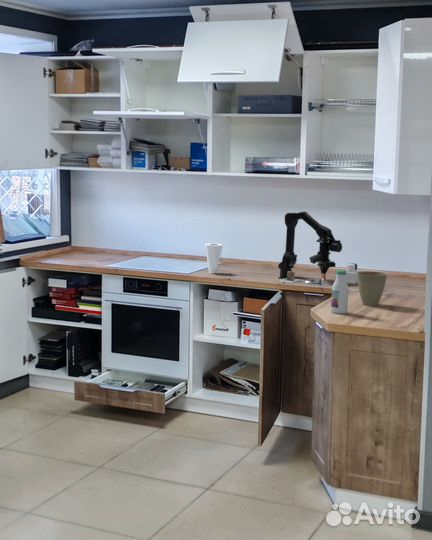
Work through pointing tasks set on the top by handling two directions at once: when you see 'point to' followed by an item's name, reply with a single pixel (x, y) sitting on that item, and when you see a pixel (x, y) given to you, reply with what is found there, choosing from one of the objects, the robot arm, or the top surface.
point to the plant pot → (371, 286)
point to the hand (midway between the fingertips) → (323, 276)
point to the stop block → (290, 276)
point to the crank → (315, 280)
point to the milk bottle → (339, 294)
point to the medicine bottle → (351, 273)
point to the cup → (213, 256)
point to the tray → (290, 281)
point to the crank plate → (316, 284)
